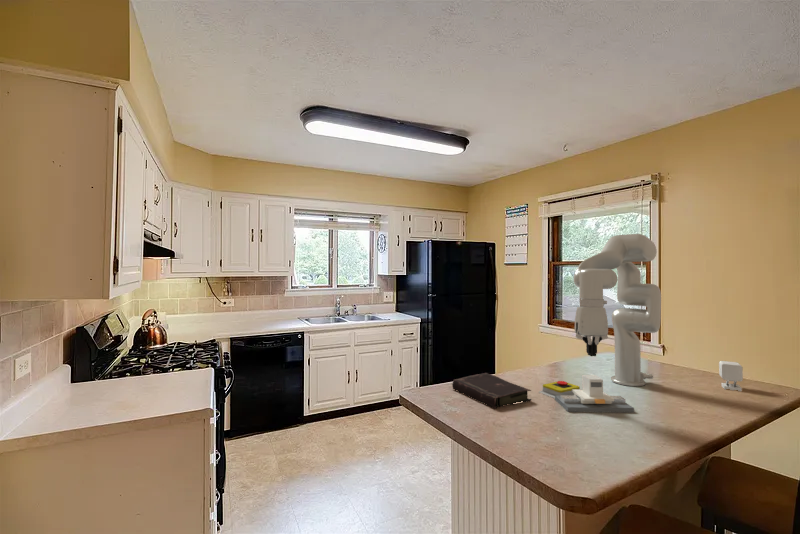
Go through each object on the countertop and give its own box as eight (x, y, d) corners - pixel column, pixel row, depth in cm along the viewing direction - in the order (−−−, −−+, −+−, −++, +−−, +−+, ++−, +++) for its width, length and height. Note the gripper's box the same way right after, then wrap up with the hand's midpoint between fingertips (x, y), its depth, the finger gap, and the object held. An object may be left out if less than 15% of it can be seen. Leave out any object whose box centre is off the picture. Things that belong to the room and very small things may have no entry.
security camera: (739, 387, 154) (739, 362, 154) (743, 391, 148) (743, 366, 148) (719, 384, 157) (719, 360, 157) (722, 389, 151) (722, 364, 152)
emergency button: (583, 383, 148) (556, 388, 141) (583, 394, 148) (556, 400, 141) (563, 377, 156) (537, 382, 149) (563, 387, 156) (537, 393, 149)
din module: (595, 391, 137) (595, 374, 137) (603, 397, 130) (603, 379, 131) (582, 391, 137) (582, 374, 137) (589, 396, 131) (589, 379, 131)
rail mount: (615, 400, 139) (615, 392, 139) (634, 412, 127) (633, 403, 127) (554, 399, 140) (554, 391, 140) (567, 411, 128) (567, 402, 128)
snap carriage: (600, 395, 138) (599, 389, 139) (615, 406, 127) (615, 399, 128) (572, 395, 139) (572, 389, 139) (585, 406, 128) (585, 399, 128)
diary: (494, 411, 131) (494, 397, 131) (452, 391, 153) (452, 379, 153) (533, 401, 140) (532, 388, 140) (488, 384, 162) (487, 372, 162)
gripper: (607, 303, 137) (607, 353, 137) (565, 302, 138) (566, 353, 138) (618, 304, 130) (619, 358, 130) (574, 304, 131) (574, 357, 130)
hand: (591, 355), depth 134 cm, fingers closed
